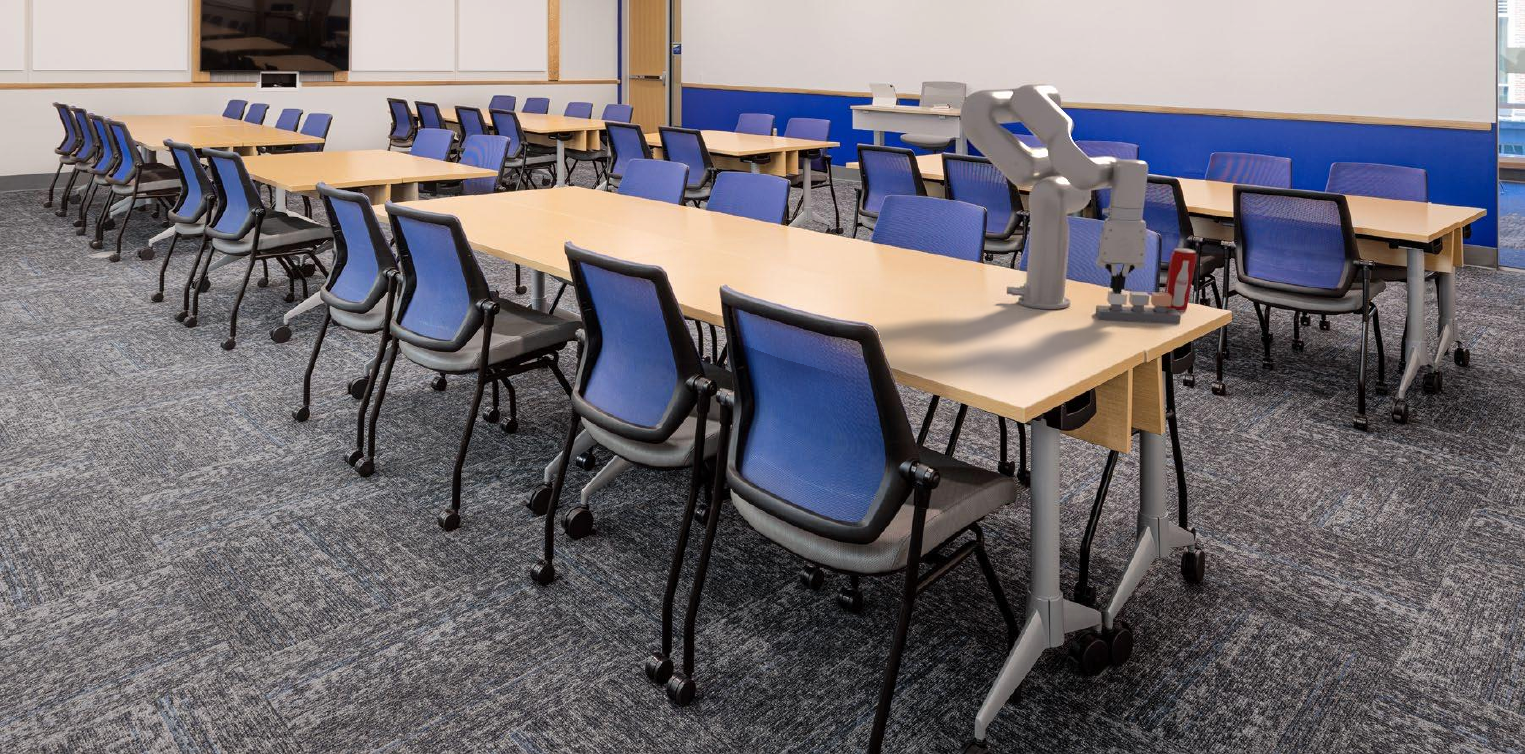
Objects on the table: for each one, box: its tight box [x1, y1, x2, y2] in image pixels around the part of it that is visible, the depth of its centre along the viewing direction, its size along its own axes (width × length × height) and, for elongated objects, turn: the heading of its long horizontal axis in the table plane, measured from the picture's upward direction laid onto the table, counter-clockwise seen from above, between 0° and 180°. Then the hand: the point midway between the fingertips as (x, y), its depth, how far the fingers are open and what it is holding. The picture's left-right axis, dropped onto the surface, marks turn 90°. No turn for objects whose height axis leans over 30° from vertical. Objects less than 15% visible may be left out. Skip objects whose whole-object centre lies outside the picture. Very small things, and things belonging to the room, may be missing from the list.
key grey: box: [1128, 291, 1151, 312], centre depth 246 cm, size 4×4×5 cm
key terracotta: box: [1150, 291, 1172, 313], centre depth 245 cm, size 4×4×5 cm
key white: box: [1106, 290, 1128, 311], centre depth 246 cm, size 4×4×5 cm
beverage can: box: [1163, 247, 1197, 313], centre depth 253 cm, size 6×6×15 cm
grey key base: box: [1095, 304, 1181, 324], centre depth 246 cm, size 18×7×2 cm, turn 81°
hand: (1116, 291), depth 246 cm, fingers closed
